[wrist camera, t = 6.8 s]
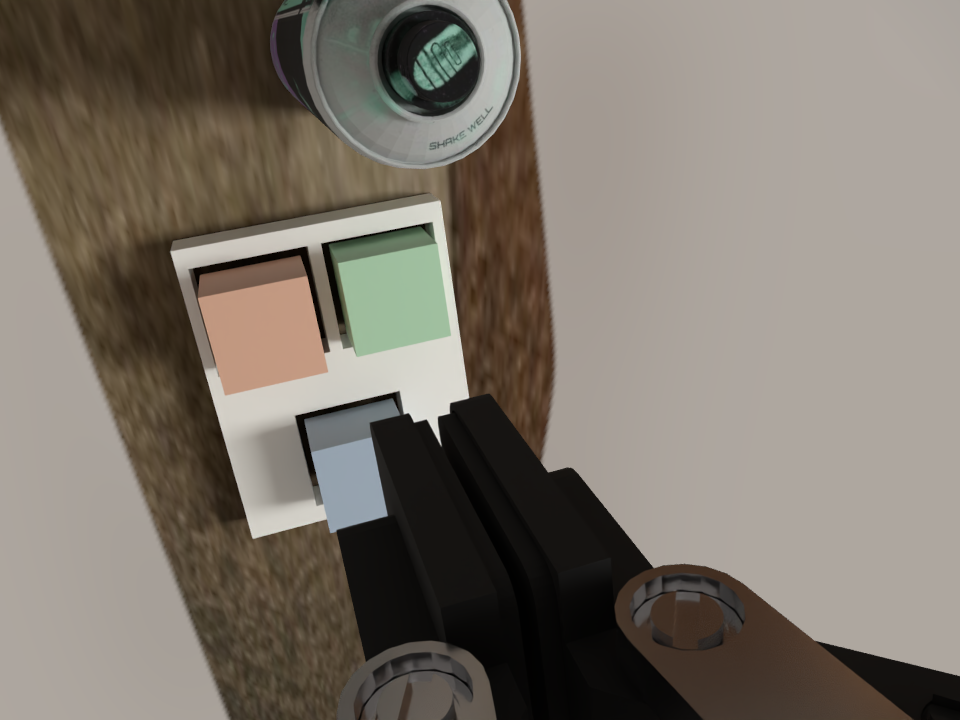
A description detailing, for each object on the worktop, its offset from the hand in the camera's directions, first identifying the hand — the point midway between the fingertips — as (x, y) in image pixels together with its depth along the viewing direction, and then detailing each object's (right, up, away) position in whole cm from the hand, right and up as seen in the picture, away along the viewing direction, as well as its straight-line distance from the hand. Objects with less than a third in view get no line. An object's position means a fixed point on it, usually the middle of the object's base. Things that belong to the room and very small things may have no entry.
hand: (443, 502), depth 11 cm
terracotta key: (-9, +4, +26) cm, 28 cm away
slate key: (-6, -2, +30) cm, 30 cm away
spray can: (-6, +16, +25) cm, 30 cm away
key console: (-7, +2, +30) cm, 31 cm away
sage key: (-4, +6, +28) cm, 29 cm away
